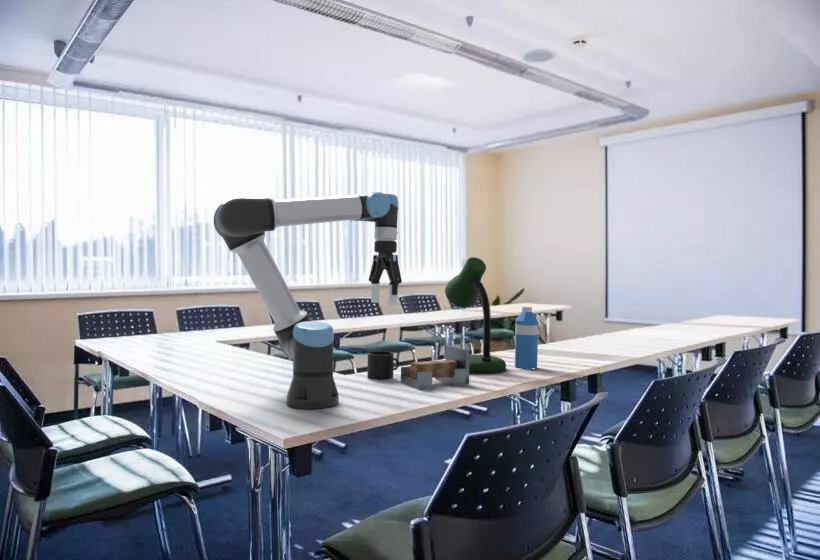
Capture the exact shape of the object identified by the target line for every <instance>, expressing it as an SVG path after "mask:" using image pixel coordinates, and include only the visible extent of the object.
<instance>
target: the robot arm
mask: <svg viewBox="0 0 820 560" xmlns="http://www.w3.org/2000/svg"><path fill="white" fill-rule="evenodd" d="M398 215H399V198H398V196H397V195H395V194H392V193H383V192H379V191H375V192H374V191H373V192H371V193H361V194H347V195H346V194H345V195H331V196H316V197H314V196H313V197H304V198H303V197H302V198H300V197H299V198H289V199H288V198H287V199H286V198H285V199H273V197H271V196H262V197H261V196H253V197H252V196H234V197H232V198H229V199H227V200H226V201H224V202H223V203H221V204H220V205H219V206H217V208H216V210H215V212H214V216H213V227H214V229H215V231H216V232H217V234H218V235H219V236H220V237H221V238H222V239H223V241H224V243H225V245H226V246H227V247H228V250H229V251H230V252H231V253H234V254H237V256H238V257H239V260H240V261H241V262H242V264H243V267H244V269H245V270H246V272H247V274H248V276H249V277H250V279H251V281H252V284H253V285H254V288H256V290H257V292H258V294H259V296H260V298H261V299H262V301H263V303H264V305H265V307H266V309H267V311H268V313H269V314H270V315H271V316H270V317H271V318H272V320H273V322H274V325H273V329H272V330H273V332H274V334H275V336H276V337H277V339H278V344H279V348H280V349H281V351H282V352H283V354H284V355H286V356H287V357H288V358H291V359H292V380H291V382H290V385H289V388H288V390H287V395H286V405H287V406H289V407H290V408H295V409H301V410H302V409H304V410H305V409H306V410H319V409H324V408H325V409H326V408H330V407H334V406H337V405H338V404H339V400H340V399H339V398H340V396H339V391H338V388H337V385H336V381H335V378H334V343H335V342H334V341H335V335H334V327H333V326H332V325H331V324H329V323H326V322H322V321H312V319H311V317H310V315H309V314H308V312H307V311H305V310H303V309H300V307H299V305H298V304H297V301H296V299H295V297H294V295H293V294H292V292H291V290H290V288H289V286H288V284H287V283H286V281H285V278H284V277H283V275H282V273H281V272H280V271H281V270H279V268H278V266H277V264H276V261H275V259H274V258H273V256H272V254H271V252H270V251H269V248H268V247H267V245H266V243H265V237H266V234H267V233H266V232H274V231H275V230H276V229H277V228H278V227H279V228H280V227H290V226H301V225H312V224H313V225H314V224H322V223H323V224H324V223H333V222H342V221H343V222H344V221H350V222H353V221H354V222H355V221H356V222H371V223H374V239H375V241H374V247H373V248H374V249H373V250H374V252H376V253H377V254H374V255H373V258H372V264H371V268H370V271H369V272H370V273H369V277H368V282H370V284H371V291H370V292H371V295H370V296H371V298H370V299H371V300H370V303H373V304H374V303H375V304H376V303H379V304H380V289H381V288H380V287H381V285H380V284H381V281H380V280H381V277H382V276H383V273H384V270H386V273H387V276H388V279H389V283H388V305H389V306H398V291H399V287H398V286H400V284H402V276H401V275H402V274H401V271H400V266H399V255H398V254H397V249H398V243H397V240H398V234H399V232H398V218H399V217H398ZM395 253H396V254H395Z"/></svg>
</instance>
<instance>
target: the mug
mask: <svg viewBox="0 0 820 560" xmlns="http://www.w3.org/2000/svg"><path fill="white" fill-rule="evenodd" d="M394 362H396V365H395V367H394ZM399 367H400V361H399V360H398V359H397V358H396V357H394V352H392V351H385V350H384V351H382V350H381V351H380V350H379V351H378V350H377V351H370V352H368V353H367V371H366V372H367V379H369V380H372V381H373V380H374V381H387V380H388V381H389V380H391V379H394V371H396V370H398V368H399Z"/></svg>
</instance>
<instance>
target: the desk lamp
mask: <svg viewBox="0 0 820 560" xmlns="http://www.w3.org/2000/svg"><path fill="white" fill-rule="evenodd" d="M462 267H463V268H461V271H460V272H459V274H457V275H455V276H454V277H453V278H451V279H450V280H449V281H448V282H447V284H446V286H445V288H444V294H445V296H446V299H448V301H449V303H451V304H452V305H454V306H456V307H459V308H471V307H473V306H474V305H475V304H476V302H477V300H478V299H480V303H481V308H482V322H483V323H482V330H483V331H482V354H470V360H469V375H494V374H495V375H496V374H502V373H506V371H507V363H506V361H505V360H504V359H503V358H501V357H498V356H493V355H491V346H492V345H491V342H492V341H491V339H492V338H491V336H492V331H491V330H492V328H491V327H492V314H491V312H492V311H491V305H490V300H489V296H488V292H487V291H486V287H485V286H484V283H482V282H481V281H482V278H483V275H484V274H485V272H486V270H487V266H486V263H485V261H483V259H481V258H478V257H474V256H473V257H469V258H468V259H467V260H466V261H465V263H464V265H463V266H462ZM478 297H479V298H478Z"/></svg>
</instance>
